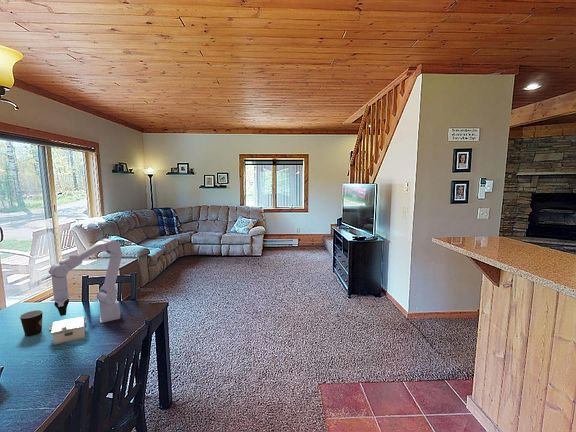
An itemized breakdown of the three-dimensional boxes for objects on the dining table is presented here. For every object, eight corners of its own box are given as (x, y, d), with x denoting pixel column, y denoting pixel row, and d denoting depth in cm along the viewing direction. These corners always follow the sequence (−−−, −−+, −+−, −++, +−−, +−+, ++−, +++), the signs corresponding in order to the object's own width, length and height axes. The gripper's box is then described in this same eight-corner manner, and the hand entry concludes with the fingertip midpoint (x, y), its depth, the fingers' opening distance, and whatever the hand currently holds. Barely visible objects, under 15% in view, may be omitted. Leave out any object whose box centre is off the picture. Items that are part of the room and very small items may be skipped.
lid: (83, 317, 156) (83, 316, 156) (83, 327, 146) (83, 326, 146) (50, 323, 148) (50, 322, 148) (48, 335, 138) (48, 333, 138)
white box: (87, 325, 158) (86, 315, 157) (87, 338, 146) (86, 327, 145) (55, 332, 151) (54, 322, 150) (53, 346, 139) (52, 335, 138)
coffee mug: (31, 338, 145) (29, 319, 144) (17, 336, 147) (15, 317, 146) (54, 326, 157) (52, 308, 155) (41, 325, 158) (39, 307, 157)
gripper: (51, 285, 149) (53, 311, 151) (48, 295, 137) (51, 323, 139) (68, 282, 153) (71, 308, 155) (67, 292, 141) (70, 319, 143)
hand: (63, 315), depth 147 cm, fingers closed
